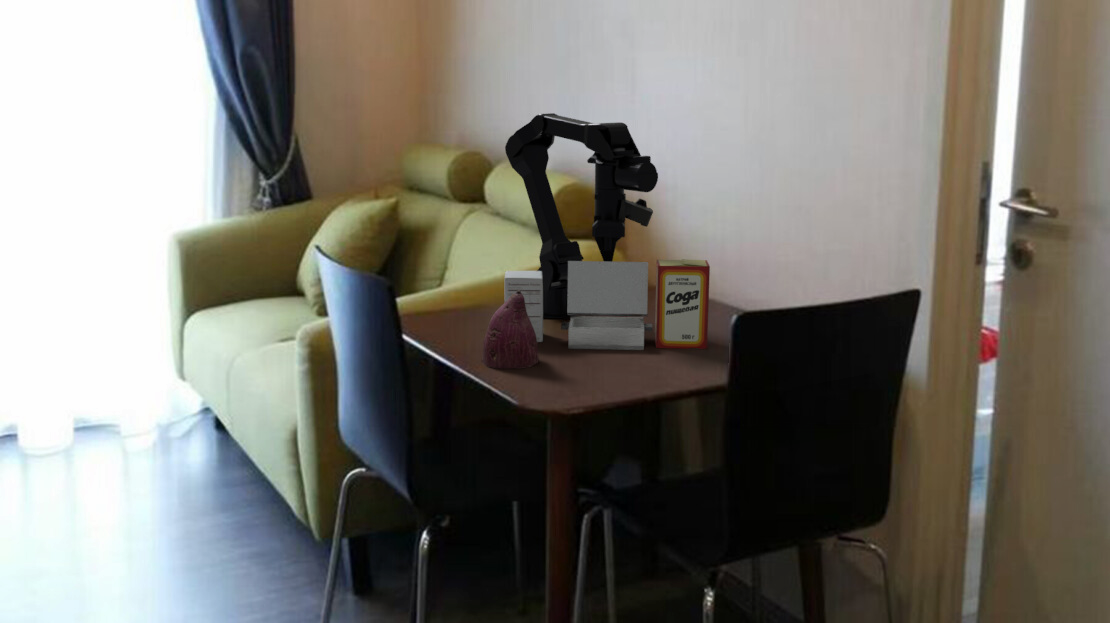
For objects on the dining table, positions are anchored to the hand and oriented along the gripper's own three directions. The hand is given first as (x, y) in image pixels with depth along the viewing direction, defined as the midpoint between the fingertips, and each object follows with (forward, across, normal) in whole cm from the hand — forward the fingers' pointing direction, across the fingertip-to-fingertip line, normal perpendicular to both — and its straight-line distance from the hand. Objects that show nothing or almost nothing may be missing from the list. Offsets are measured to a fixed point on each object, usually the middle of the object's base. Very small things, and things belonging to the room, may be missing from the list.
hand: (608, 266), depth 238 cm
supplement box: (+13, -9, +16) cm, 22 cm away
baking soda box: (+13, -12, -14) cm, 22 cm away
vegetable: (+13, -27, +17) cm, 34 cm away
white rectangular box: (+12, -12, 0) cm, 17 cm away
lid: (+3, -7, 0) cm, 8 cm away
